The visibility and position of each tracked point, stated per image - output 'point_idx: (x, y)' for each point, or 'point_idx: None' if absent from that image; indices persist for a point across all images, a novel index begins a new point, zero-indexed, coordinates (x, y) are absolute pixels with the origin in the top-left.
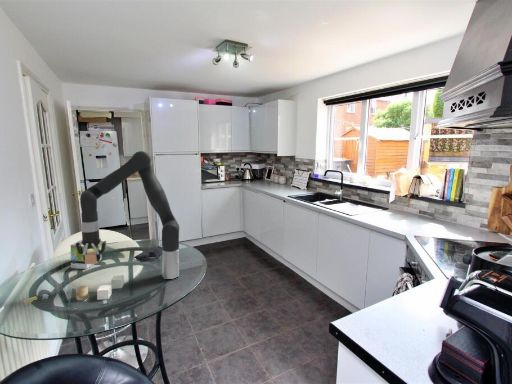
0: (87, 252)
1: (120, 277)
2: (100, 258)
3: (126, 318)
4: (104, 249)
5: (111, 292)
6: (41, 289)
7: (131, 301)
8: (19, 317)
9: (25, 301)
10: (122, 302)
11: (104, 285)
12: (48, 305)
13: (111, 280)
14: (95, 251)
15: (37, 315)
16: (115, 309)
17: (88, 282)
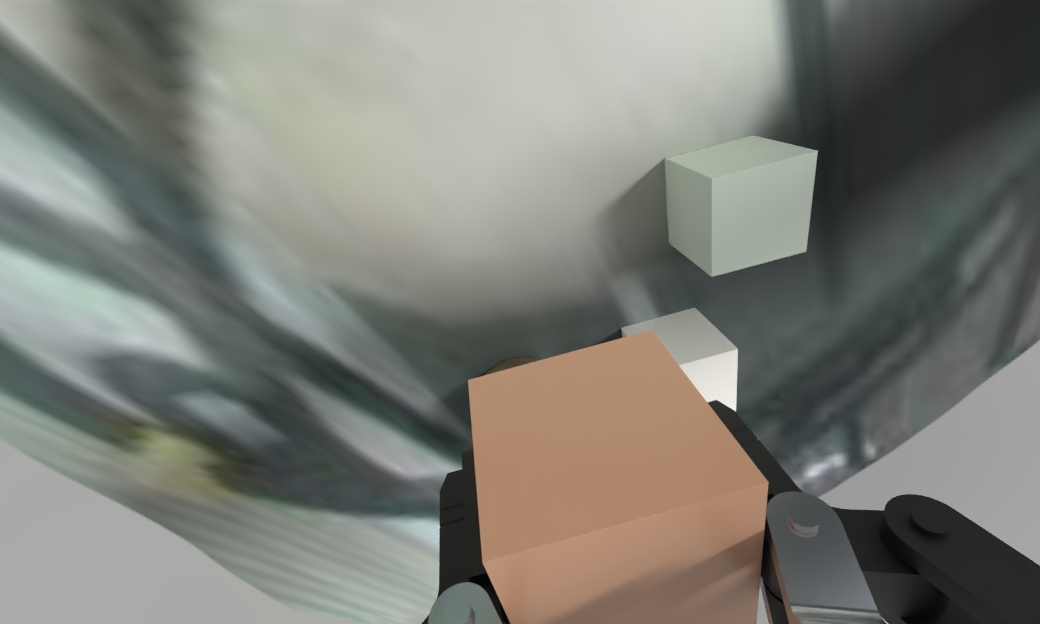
0: (520, 616)
1: (789, 211)
2: (725, 410)
3: (828, 476)
4: (999, 560)
5: (700, 316)
6: (72, 354)
7: (840, 362)
8: (315, 575)
9: (164, 488)
10: (789, 380)
11: (685, 368)
12: (365, 485)
13: (712, 274)
14: (691, 530)
15: (391, 548)
16: (764, 438)
17: (398, 168)
